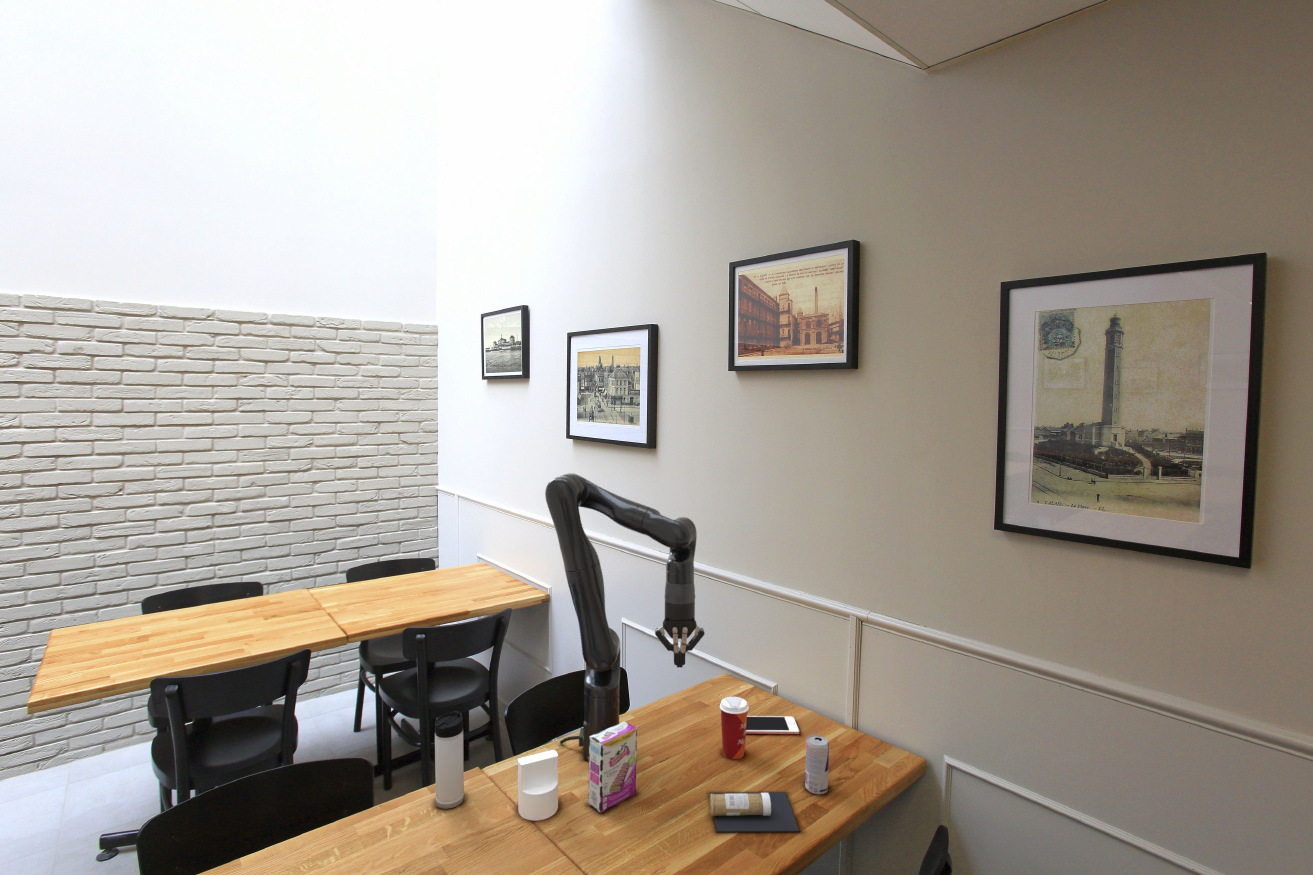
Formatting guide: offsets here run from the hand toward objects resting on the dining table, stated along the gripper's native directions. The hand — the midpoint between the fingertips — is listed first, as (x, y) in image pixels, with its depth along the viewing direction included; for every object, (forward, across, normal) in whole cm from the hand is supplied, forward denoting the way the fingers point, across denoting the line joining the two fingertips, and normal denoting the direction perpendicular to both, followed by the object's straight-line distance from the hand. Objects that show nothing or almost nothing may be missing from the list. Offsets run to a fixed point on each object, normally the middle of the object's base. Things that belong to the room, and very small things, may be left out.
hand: (679, 666), depth 164 cm
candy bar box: (+27, +16, +12) cm, 34 cm away
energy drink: (+27, -33, +8) cm, 44 cm away
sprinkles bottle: (+24, -6, +18) cm, 31 cm away
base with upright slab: (+27, +33, +15) cm, 45 cm away
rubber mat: (+27, -16, +17) cm, 36 cm away
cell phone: (+27, -26, -22) cm, 43 cm away
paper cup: (+27, -15, -8) cm, 32 cm away
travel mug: (+27, +54, +12) cm, 62 cm away
